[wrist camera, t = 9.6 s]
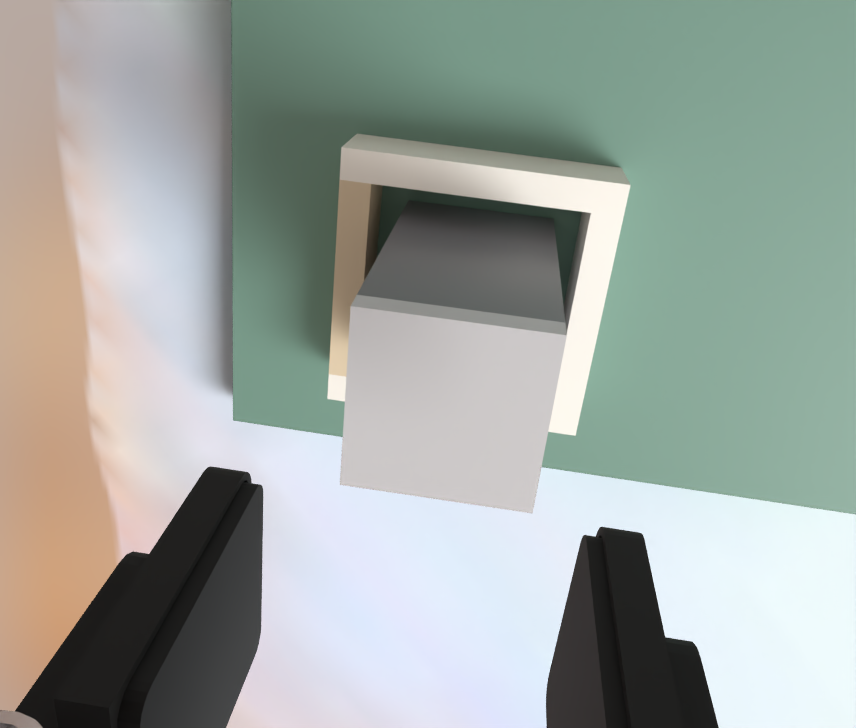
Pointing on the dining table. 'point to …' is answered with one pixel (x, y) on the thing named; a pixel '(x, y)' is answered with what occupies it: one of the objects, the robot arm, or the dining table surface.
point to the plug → (455, 358)
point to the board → (573, 214)
